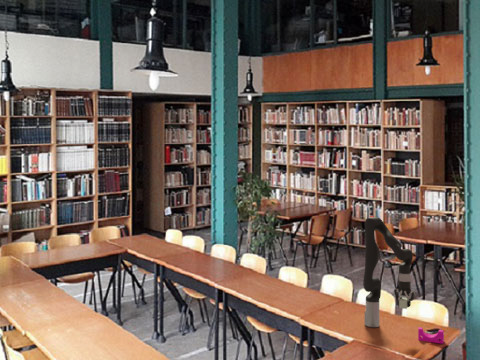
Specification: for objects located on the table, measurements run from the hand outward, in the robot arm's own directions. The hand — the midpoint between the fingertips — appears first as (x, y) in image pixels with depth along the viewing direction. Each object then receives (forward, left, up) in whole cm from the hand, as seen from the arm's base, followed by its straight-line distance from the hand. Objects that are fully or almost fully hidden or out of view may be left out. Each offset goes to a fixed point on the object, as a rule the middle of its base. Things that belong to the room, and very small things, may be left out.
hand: (404, 305), depth 353 cm
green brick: (0, 0, 0) cm, 0 cm away
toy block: (+14, +8, -22) cm, 28 cm away
